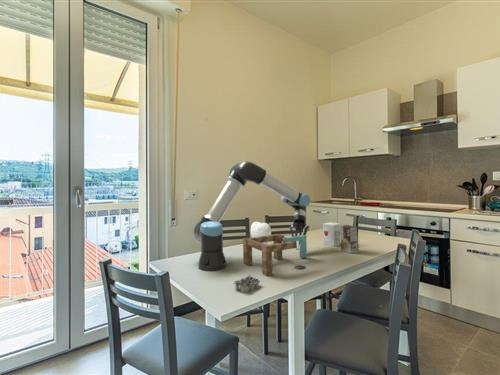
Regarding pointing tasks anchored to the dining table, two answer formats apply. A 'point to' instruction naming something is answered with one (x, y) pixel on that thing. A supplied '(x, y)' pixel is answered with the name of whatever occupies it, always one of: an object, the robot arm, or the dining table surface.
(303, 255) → the folding leg
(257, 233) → the decorative heart
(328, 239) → the supplement box
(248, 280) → the grey knobbly lump
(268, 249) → the stool frame
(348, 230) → the coffee box
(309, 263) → the dining table surface
